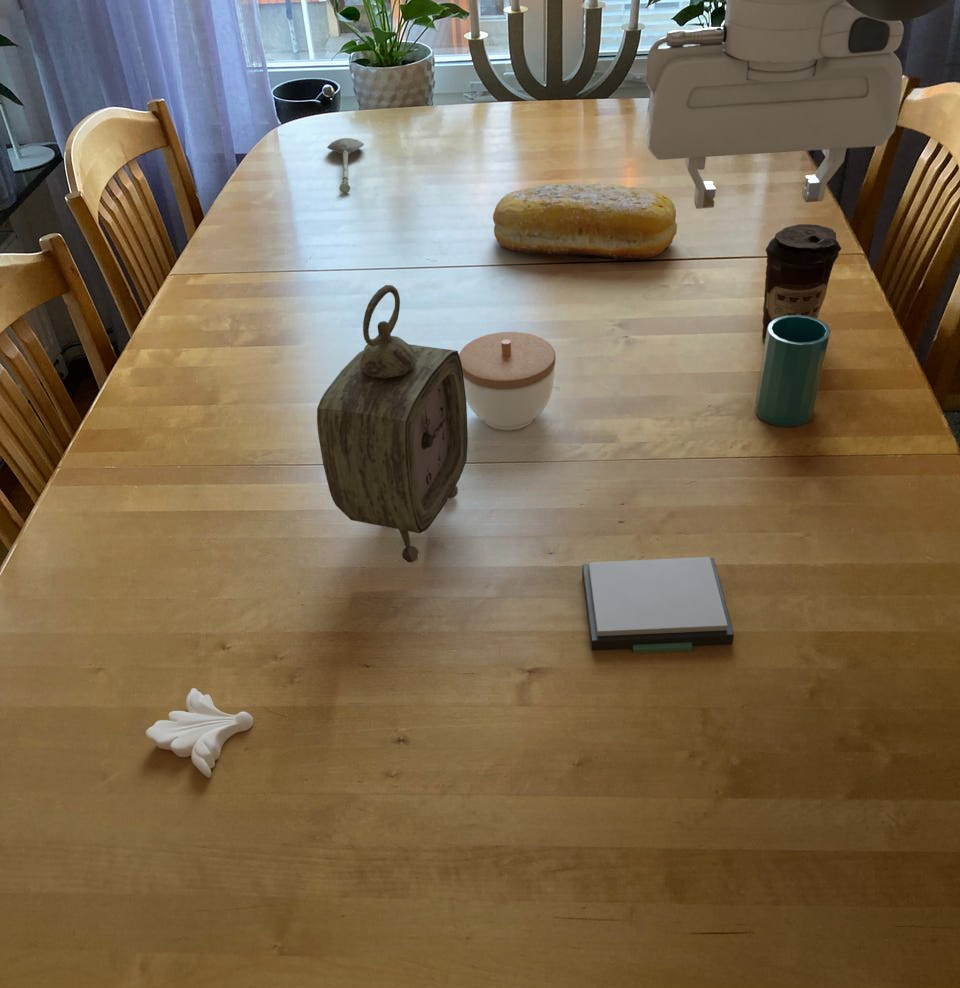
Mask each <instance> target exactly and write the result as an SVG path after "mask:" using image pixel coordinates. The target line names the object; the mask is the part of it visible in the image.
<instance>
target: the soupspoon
mask: <svg viewBox="0 0 960 988" xmlns="http://www.w3.org/2000/svg"><path fill="white" fill-rule="evenodd" d="M364 145H365V143H364V142H362V141H361V140H359V139H356V138H351V137H344V138H343V137H342V138H339V139H336V140H334V141H332V142H331V143H329V144H328V146H327V147H326V149H329V150H330V151H333V152H335V153H338V154H341V155H342V165H343V166H342V168H343V174H342V175H343V177H342V179H341V180H342V181H341V184H339V187H338V189H339V191H340V192H341V193H343V194H348V193H349V192H350V190H351V186H350V185H349V178H348V175H349V155H350V154H352V153H354V152H356V151H358V150H359V149H361V148H362V147H363V146H364Z"/></svg>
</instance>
